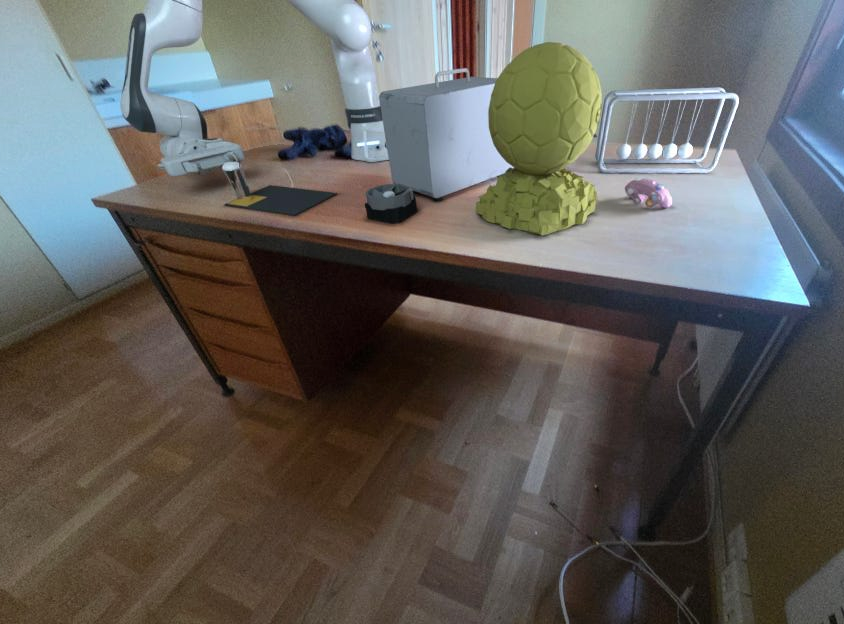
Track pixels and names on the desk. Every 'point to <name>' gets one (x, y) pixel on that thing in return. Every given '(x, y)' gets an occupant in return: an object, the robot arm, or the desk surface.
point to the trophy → (542, 139)
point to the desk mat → (283, 200)
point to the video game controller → (648, 193)
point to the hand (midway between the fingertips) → (217, 163)
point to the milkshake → (237, 180)
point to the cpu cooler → (390, 203)
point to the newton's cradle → (656, 148)
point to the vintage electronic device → (441, 135)
